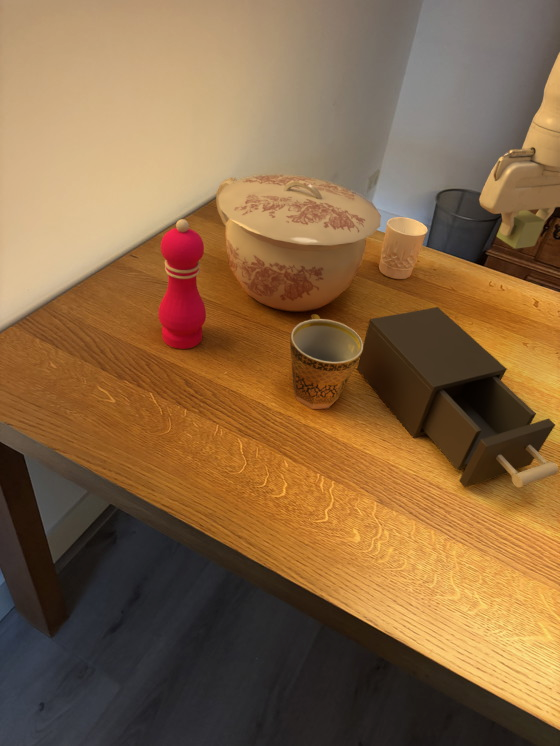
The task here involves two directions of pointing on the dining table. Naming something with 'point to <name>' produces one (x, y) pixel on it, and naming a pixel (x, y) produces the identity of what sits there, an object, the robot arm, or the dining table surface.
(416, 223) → the white cup
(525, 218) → the block
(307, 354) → the ceramic cup
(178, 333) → the pepper mill
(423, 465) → the dining table surface
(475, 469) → the dark brown drawer
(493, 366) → the drawer box
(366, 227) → the chamber pot
